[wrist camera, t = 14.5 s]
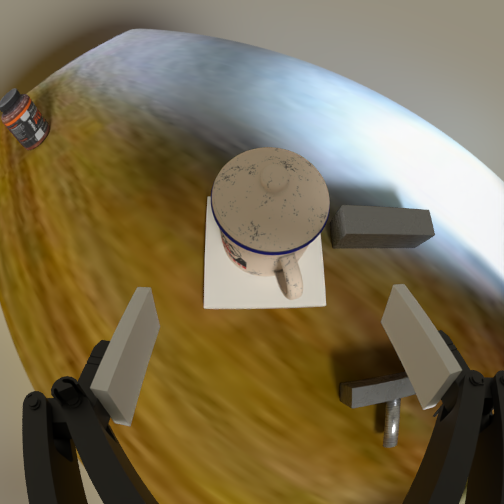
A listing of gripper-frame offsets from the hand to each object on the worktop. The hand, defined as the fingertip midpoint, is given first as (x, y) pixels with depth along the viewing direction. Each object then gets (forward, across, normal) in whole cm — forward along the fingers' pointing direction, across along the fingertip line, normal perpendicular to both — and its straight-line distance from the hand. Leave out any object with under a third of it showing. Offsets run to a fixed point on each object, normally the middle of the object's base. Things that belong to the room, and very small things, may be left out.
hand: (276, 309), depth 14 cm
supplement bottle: (+29, -38, +10) cm, 49 cm away
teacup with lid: (+14, +1, -4) cm, 15 cm away
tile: (+15, 0, -4) cm, 15 cm away
